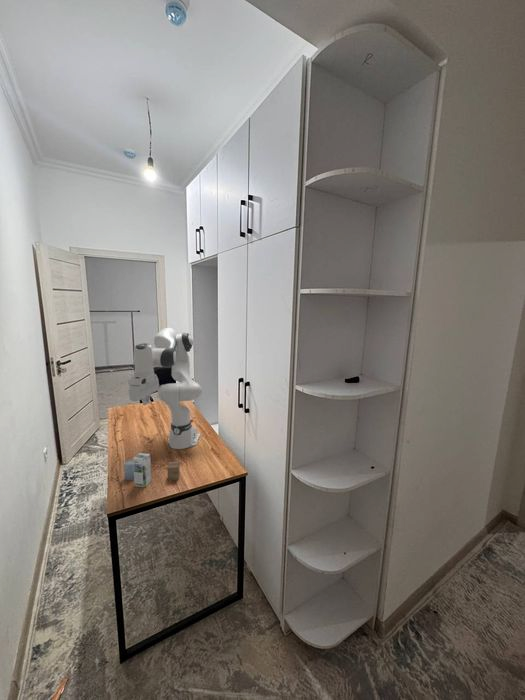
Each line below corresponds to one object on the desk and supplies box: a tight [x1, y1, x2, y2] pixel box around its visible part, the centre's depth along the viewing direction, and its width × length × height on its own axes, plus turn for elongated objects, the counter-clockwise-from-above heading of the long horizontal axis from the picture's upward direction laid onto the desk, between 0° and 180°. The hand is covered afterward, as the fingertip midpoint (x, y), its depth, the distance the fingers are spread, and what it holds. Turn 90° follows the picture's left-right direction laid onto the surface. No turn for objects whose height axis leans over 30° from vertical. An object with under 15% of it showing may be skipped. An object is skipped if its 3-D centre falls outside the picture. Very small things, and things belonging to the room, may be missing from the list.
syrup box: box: [132, 452, 152, 488], centre depth 139 cm, size 6×6×14 cm
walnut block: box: [166, 461, 180, 482], centre depth 145 cm, size 5×5×7 cm
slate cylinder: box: [123, 459, 134, 482], centre depth 144 cm, size 5×5×8 cm
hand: (146, 404), depth 143 cm, fingers closed
